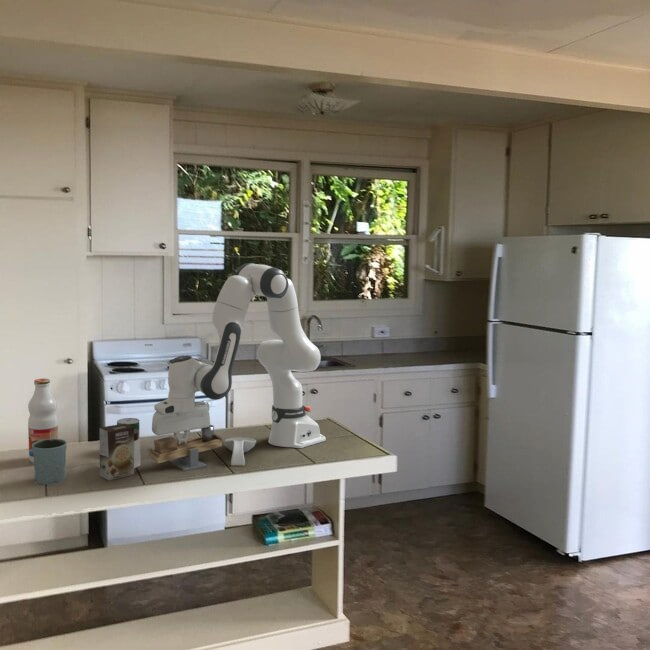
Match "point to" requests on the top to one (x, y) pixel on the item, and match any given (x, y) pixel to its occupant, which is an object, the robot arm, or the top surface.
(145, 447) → the top surface
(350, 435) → the top surface
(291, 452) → the top surface
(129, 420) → the canned tomato
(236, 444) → the spoon rest
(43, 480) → the teal cup
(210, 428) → the cylinder
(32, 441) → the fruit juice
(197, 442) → the beam
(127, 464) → the coffee box
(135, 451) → the jar
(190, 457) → the stand
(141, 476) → the top surface
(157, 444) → the block
